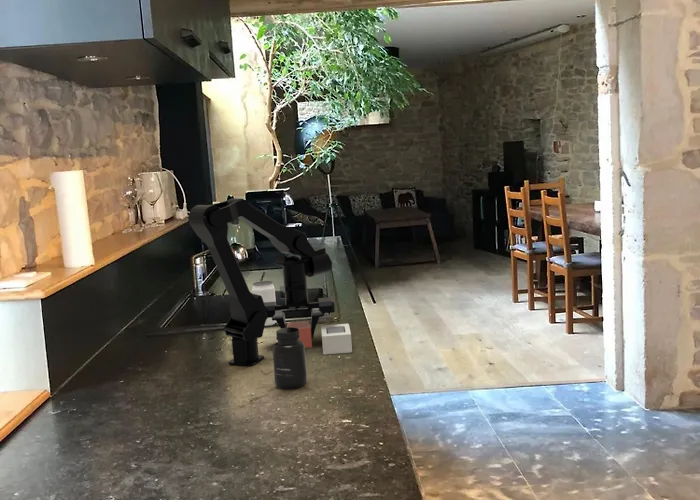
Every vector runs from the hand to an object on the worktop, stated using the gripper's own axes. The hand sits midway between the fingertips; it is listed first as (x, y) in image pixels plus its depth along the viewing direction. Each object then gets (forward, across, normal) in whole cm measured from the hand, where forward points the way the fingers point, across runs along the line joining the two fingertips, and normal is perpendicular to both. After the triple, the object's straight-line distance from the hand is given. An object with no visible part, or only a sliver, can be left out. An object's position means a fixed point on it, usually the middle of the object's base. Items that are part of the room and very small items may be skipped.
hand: (299, 340), depth 176 cm
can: (+1, +10, -23) cm, 26 cm away
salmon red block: (+1, 0, 0) cm, 1 cm away
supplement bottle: (+1, +2, +29) cm, 29 cm away
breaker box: (+1, -9, +5) cm, 11 cm away
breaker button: (0, -9, +5) cm, 11 cm away
